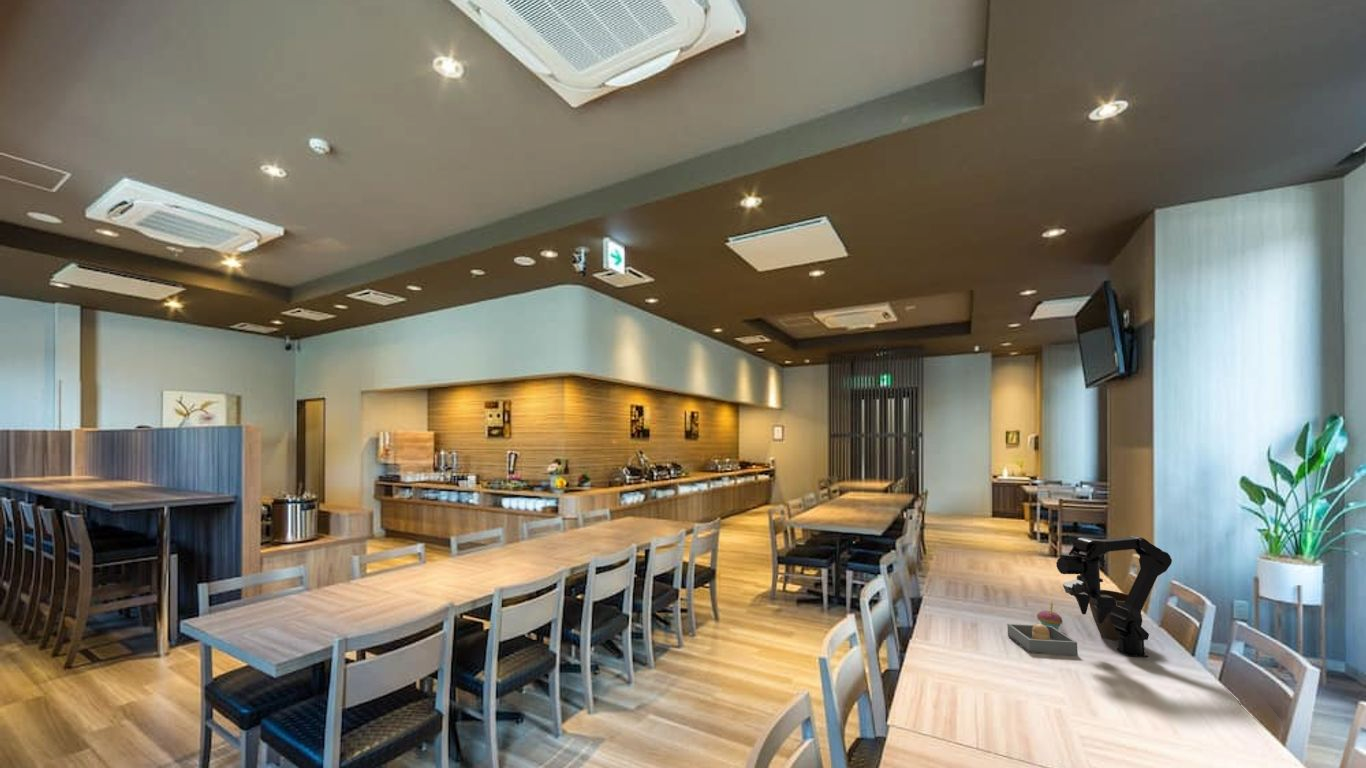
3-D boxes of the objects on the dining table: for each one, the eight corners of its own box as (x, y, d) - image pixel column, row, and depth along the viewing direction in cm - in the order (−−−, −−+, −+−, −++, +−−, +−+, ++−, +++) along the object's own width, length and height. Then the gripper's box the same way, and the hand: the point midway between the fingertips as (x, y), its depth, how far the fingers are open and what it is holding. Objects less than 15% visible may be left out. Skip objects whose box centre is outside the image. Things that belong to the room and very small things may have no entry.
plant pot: (1139, 648, 197) (1137, 603, 198) (1088, 638, 206) (1086, 595, 207) (1136, 636, 209) (1134, 594, 210) (1088, 627, 218) (1086, 587, 219)
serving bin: (1052, 638, 206) (1051, 626, 207) (1077, 655, 190) (1077, 642, 191) (1007, 635, 208) (1007, 623, 208) (1029, 652, 192) (1029, 639, 193)
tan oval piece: (1044, 640, 202) (1044, 622, 202) (1053, 646, 196) (1052, 627, 197) (1029, 639, 202) (1028, 621, 203) (1037, 645, 197) (1036, 626, 197)
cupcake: (1068, 634, 210) (1066, 602, 211) (1046, 633, 211) (1044, 602, 211) (1053, 626, 219) (1052, 596, 220) (1032, 625, 219) (1031, 595, 220)
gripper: (1051, 566, 205) (1053, 608, 204) (1081, 580, 186) (1084, 626, 185) (1082, 567, 204) (1084, 610, 202) (1116, 581, 185) (1119, 628, 184)
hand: (1091, 618), depth 194 cm, fingers open, 9 cm apart
